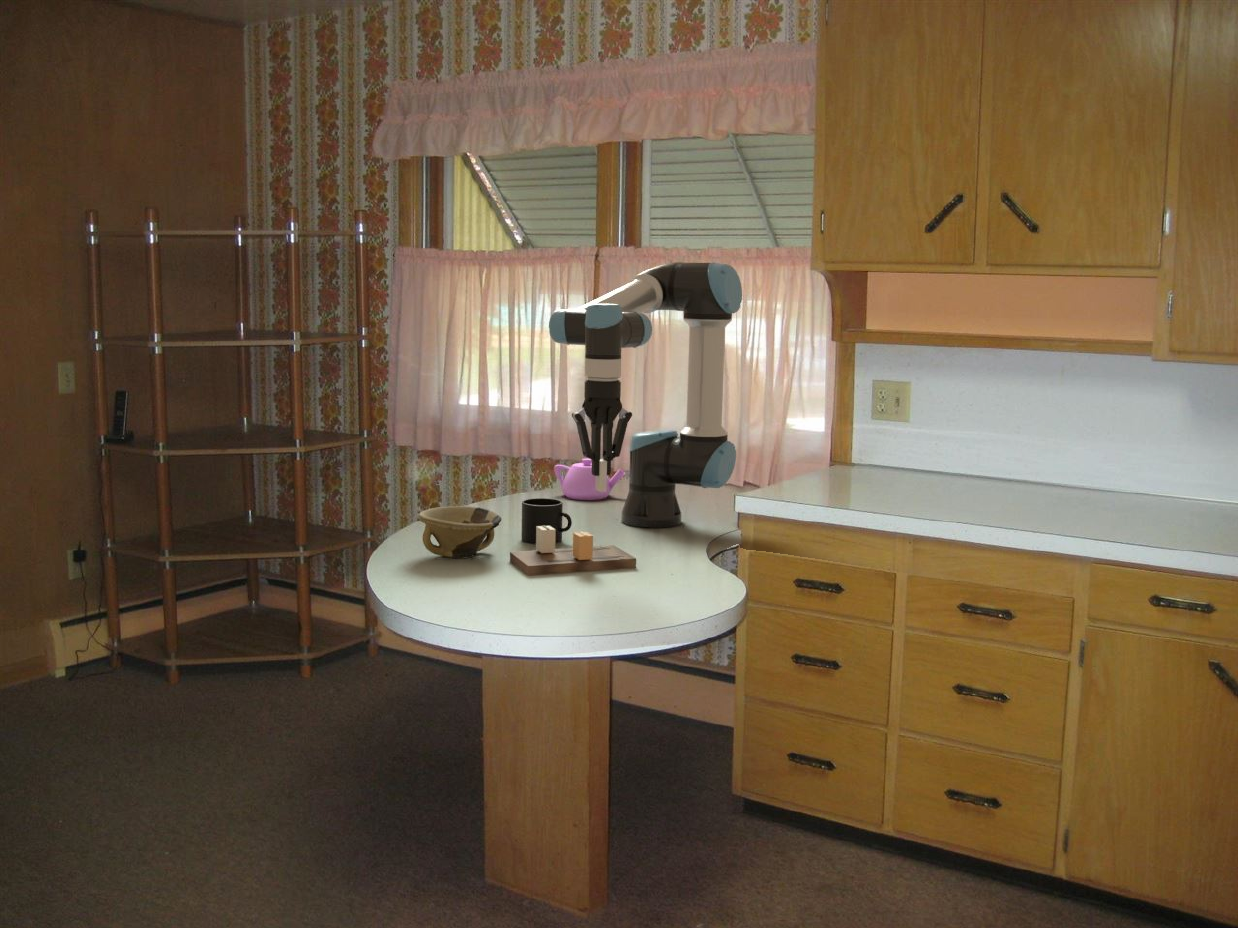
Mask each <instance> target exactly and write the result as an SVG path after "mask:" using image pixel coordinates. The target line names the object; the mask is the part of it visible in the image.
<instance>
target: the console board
mask: <svg viewBox="0 0 1238 928" xmlns="http://www.w3.org/2000/svg"><path fill="white" fill-rule="evenodd" d="M509 562H511V564H513V565H514V566H515V567H517V568H518V569H519V570H520V571H521V572H523V573H525V574H526V576H537V575H538V576H539V575H541V576H542V575H551V574H554V575H555V574H564V573H565V574H567V573H578V572H592V571H609V570H622V569H635V568H637V558H636V557H634V556H633V555H631V554H630V553H627V552H626V551H624V549H623V550H622V549H621V548H619V547H617V546H616V545H599V546H593V559H586V560H578V559H577V558H575V557H574V556H573V547H569V548H568V547H566V548H555V552H552V553H541V552H539V551H538V550H537V549H535V550H534V549H533V550H520V551H510V552H509Z"/></svg>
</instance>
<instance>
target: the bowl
mask: <svg viewBox="0 0 1238 928" xmlns="http://www.w3.org/2000/svg"><path fill="white" fill-rule="evenodd" d="M418 517H419V521H420V522H421V523H422V524H424V525H425V527H424V530H423V533H422V543H423V546H424V547H425V549H426V550H428V551H429V552H430V553H432V554H434V555H437V556H441V557H447V558H452V559H453V558H454V559H467V558H471V557H473V556H475V555H476V554H477V552H480V551H482V550H485V549H486V548H488V547H490V545H491V544H492V543H493V541H494V539H495V529H496V528H497V527H498V526H500V523H501V521H502V517H501V515H499V514H498V513H496V512H494V511H493V510H489V509H486V508H481V507H478V506H469V505H459V506H457V505H456V506H454V505H453V506H439V507H434V508H433V507H432V508H429V509H426V510H422V511H420V512H419V513H418ZM432 536H433V537H434V539H435V541H436V542H437V543H438V545H436V544H434V543H433V542H432V541H431V537H432Z"/></svg>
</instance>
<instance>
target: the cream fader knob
mask: <svg viewBox="0 0 1238 928" xmlns="http://www.w3.org/2000/svg"><path fill="white" fill-rule="evenodd" d="M555 549H556V543H555V529H554V528H552V527H551V526H545V525H542V526H536V544H535V550H538V551H539V552H541V553H552V552H555Z"/></svg>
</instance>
